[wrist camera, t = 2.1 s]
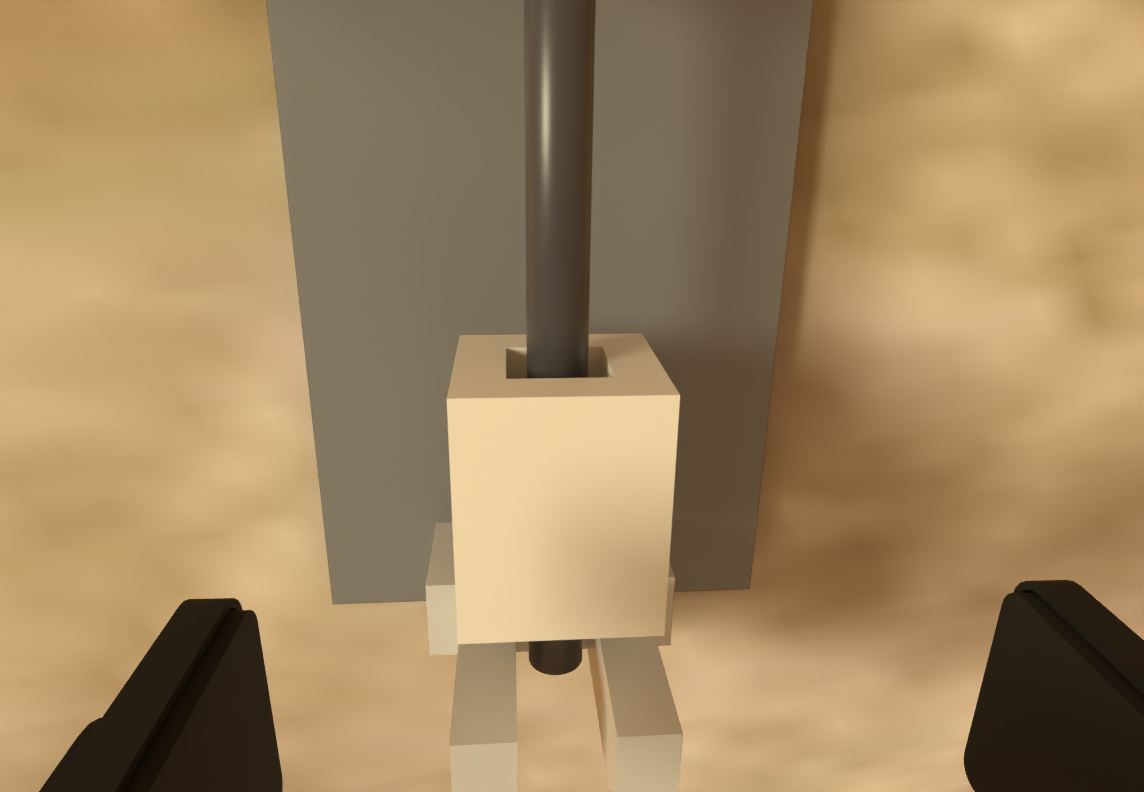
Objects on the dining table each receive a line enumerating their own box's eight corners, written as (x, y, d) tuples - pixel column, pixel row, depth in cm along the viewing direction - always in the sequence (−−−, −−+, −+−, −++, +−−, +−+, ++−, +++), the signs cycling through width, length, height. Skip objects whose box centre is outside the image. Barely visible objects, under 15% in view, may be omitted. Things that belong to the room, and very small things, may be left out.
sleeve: (632, 531, 19) (664, 635, 15) (467, 536, 18) (457, 644, 15) (641, 333, 17) (680, 394, 13) (459, 335, 17) (446, 398, 13)
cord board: (739, 570, 24) (870, 823, 15) (339, 583, 23) (241, 863, 14) (845, -467, 15) (1259, -1177, 7) (223, -515, 14) (-177, -1409, 6)
